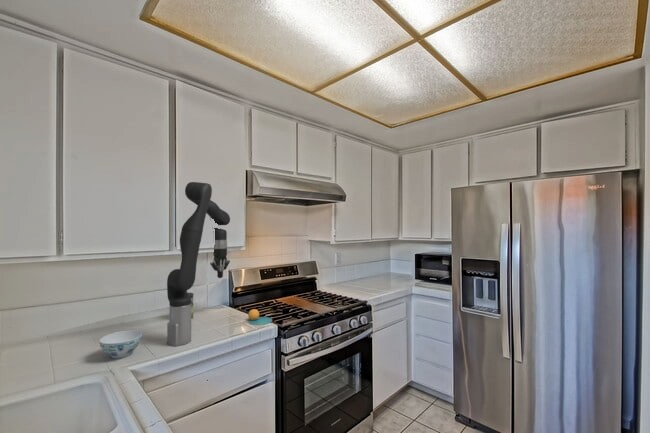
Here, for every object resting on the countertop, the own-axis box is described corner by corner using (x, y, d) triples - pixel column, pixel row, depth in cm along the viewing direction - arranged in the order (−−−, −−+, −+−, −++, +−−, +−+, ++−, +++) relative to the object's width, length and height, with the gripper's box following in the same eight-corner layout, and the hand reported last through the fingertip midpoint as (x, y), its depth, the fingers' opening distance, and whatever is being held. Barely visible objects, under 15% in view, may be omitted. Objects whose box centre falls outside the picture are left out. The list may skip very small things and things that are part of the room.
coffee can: (197, 317, 180) (197, 292, 180) (185, 322, 170) (186, 297, 170) (181, 316, 182) (181, 292, 182) (169, 321, 172) (169, 296, 172)
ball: (244, 313, 174) (249, 323, 174) (250, 312, 170) (254, 321, 170) (252, 307, 179) (257, 317, 179) (258, 306, 175) (263, 316, 175)
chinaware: (130, 345, 140) (130, 327, 140) (149, 352, 132) (149, 334, 132) (91, 358, 127) (92, 339, 127) (110, 366, 119) (110, 346, 119)
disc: (261, 326, 164) (261, 325, 164) (243, 322, 171) (243, 322, 171) (277, 319, 175) (277, 319, 175) (259, 316, 182) (259, 315, 182)
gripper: (215, 248, 172) (215, 280, 171) (233, 247, 183) (233, 276, 183) (206, 248, 175) (206, 279, 175) (224, 246, 187) (224, 275, 187)
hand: (220, 277), depth 179 cm, fingers closed
